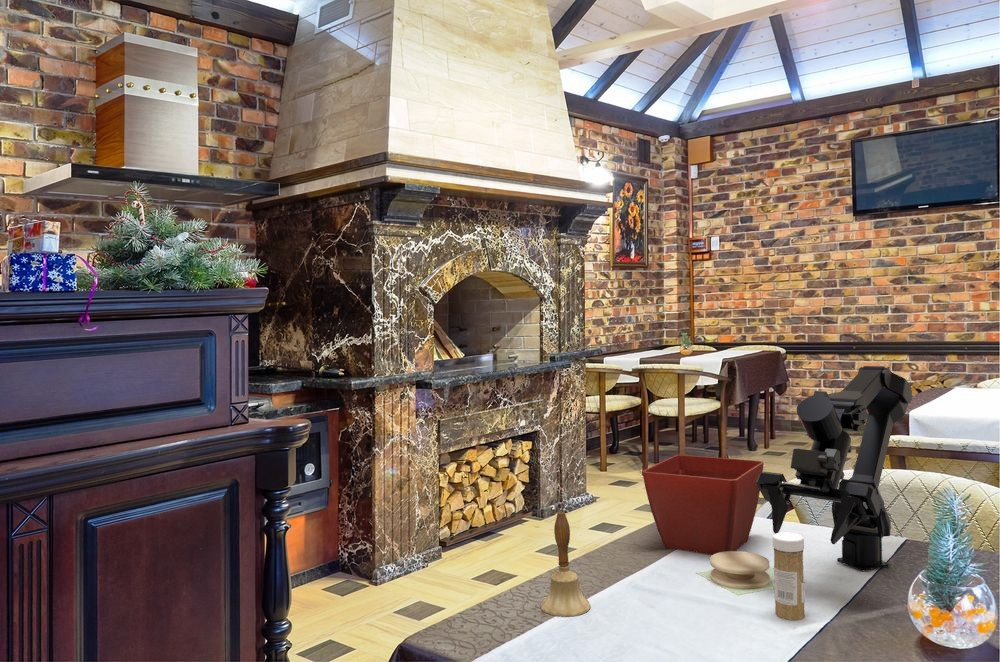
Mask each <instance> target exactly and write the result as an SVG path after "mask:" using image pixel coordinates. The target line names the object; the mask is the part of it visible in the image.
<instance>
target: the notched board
mask: <svg viewBox="0 0 1000 662" xmlns="http://www.w3.org/2000/svg"><path fill="white" fill-rule="evenodd" d="M711 570H712V569H709V570H705V571H698V572H695V574H697V575H699V576H700V577H701V578H704V579H706V580H707V581H710V582H712V583H713V584H716V583H714V582H713V581H712V580H711V578H710V572H711ZM765 572H766V573H768V574H769V576H770V583H769V584H768V585H767V586H765V587H763V588H759V589H749V590H744V589H733V588H727V587H724V586H721V585H718V584H716V585H717V586H719V587H721V588H723V589H725V590H727V591H729V592H731V593H732V594H735V595H736V596H743V595H748V594H753V593H757V592H763V591H769V590H773V589H774V582H773V581H774V567H771V566H770V567H769V569H768V570H767V571H765ZM805 583H806V581H804V584H805ZM774 590H775V589H774Z"/></svg>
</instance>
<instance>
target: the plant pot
mask: <svg viewBox="0 0 1000 662" xmlns="http://www.w3.org/2000/svg"><path fill="white" fill-rule="evenodd" d="M764 463H765V462H764V461H763V460H762V461H761V460H753V459H752V460H751V459H741V458H740V459H739V458H729V457H718V456H717V457H716V456H713V457H712V456H702V455H687V454H676V455H673V456H671V457H668V458H666V459H663V460H662V461H660V462H658V463H656V464H654V465H651V466H649V467H648V468H645V469H643V470H642V478H643V483H644V488H645V491H646V497H647V501H648V503H649V508H650V511H651V513H652V517H653V520H654V523H655V526H656V528H657V529H656V530H657V531H658V533H659V536H660V539H661V541H662V544H663V546H664V548H665V550H670V549H673V550H680V551H684V552H686V551H687V552H693V553H698V554H705V555H709V556H710V555H711V556H712V555H714V554H716V553H720V552H726V551H737V550H738V549H739V548H740V547H742V546H743V545H744V544H746V543H747V542H748V539H749V536H750V535H751V532H752V530H751V529H752V527H753V523H754V520H755V516H756V512H757V508H758V504H759V498H760V493H761V492H760V490H759V488H758V486H757V484H756V481H757V478H758V475H759V474H760V473H762V472H764Z"/></svg>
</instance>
